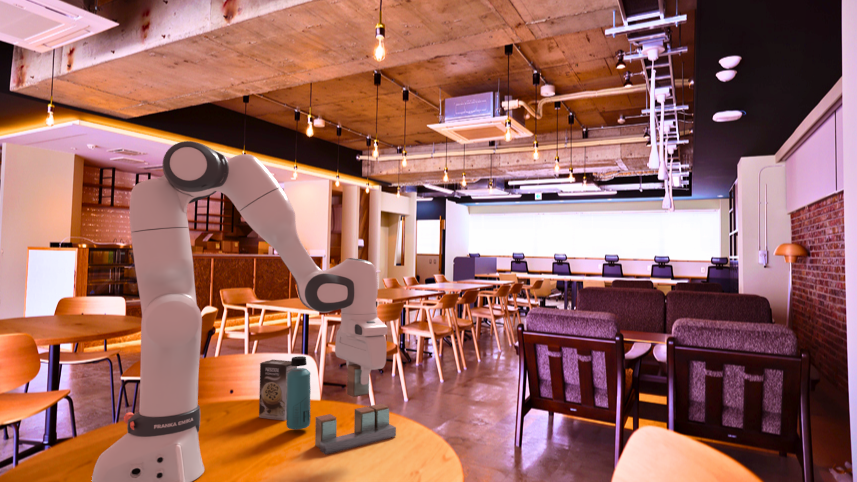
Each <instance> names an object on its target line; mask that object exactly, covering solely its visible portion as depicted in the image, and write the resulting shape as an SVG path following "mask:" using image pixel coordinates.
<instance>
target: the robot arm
mask: <svg viewBox="0 0 857 482" xmlns="http://www.w3.org/2000/svg"><path fill="white" fill-rule="evenodd" d="M161 167H162V172H163V175H162V176H160V177H157V178H150V179H146V180H143V181H140V182H138V183H137V184H135V185H134V186H133V187H132V189H131V192H130V199H129V227H130V230H129V231H130V237H131V244H132V252H133V253H132V254H133V262H134V270H135V275H136V281H137V288H138V295H139V302H140V308H141V322H140V323H141V325H140V327H141V328H140V329H141V331H140V377H139V378H140V379H139V380H140V382H139V383H140V384H139V411H137V413H133V412H131V411H130V412H126V413H125V415H124V416H123V422H124V423H125V424H126V425H127V433H126V434H124V435H122V437H121V438H119V439H118V440H117V441H115V442H114V443H113V444H112V445H110V447H108V448H107V449H106V450H104V451H103V452H102V453H101V454H100V455H99V457H98V459H96V462H95V465H94V468H93V470H92V471H93V473H92V476H91V477H92V480H91V481H92V482H193V481H195V480H197V479H199V477H201V476H202V475H203V474H204V472H205V465H204V463H203V459H202V455H201V449H200V448H201V447H200V441H199V431H200V428H201V408H200V407H201V406H200V405H199V404H198V403H199V402H198V401H199V399H198V396H199V370H200V369H199V368H200V359H201V358H200V356H201V344H202V343H201V341H202V327H203V326H202V325H203V318H202V317H203V316H202V312H201V309H200V308H199V306H198V304H197V303H198V302H197V295H196V285H195V273H194V271H195V270H194V259H193V251H192V244H191V236H190V228H189V220H188V205H189V204H193V203H194V202H198V201H200V200H203V199H206V198H208V197H210V196H213V195H215V194H216V193H222V194H223V195H225V196H226V197H227V198H228V199H229V200H230V201H231V203H232V204H233V205H234V206H235V208H236V210H237V211H238V212H239V214H240V215H241V217H242V218H243V219H244V221H245V222H246V223H247V225H248V226H249V227H250V228H251V229H252V230H253V231H254V232H255V233H256V234H257V235H258V236H260V238H261V239H262V240H264V241H265V242H266V243H267V244H268V245H269V246H270V247H272V249H274V250H275V252H276V253H277V254H278V256H279V258H280V259H281V260H282V262H283V263H284V265H285V266H286V268H287V269H288V270H289V272H290V273H291V275H292V277H293V278H294V280H295V284H296V290H297V295H298V298H299V300H300V302H301V303H302V305H304V306H305V307H306V308H308V309H309V310H312V311H315V312H318V313H330V312H334V311H339V310H340V311H341V312H340V317H341V318H340V325H339V329H337V332H336V336H335V344H334V345H335V347H334V352H335V356H336V358H339V359H341V360H345V363H346V368H347V369H348V365H353V364H357V365H360V366H361V370H362V372H361V376H359V383H360V384H362V385H365V384H368V376H369V377H370V374H371V372H372V371H374V370H381V369H383V368H384V367H385V365H386V363H387V347H388V345H387V339H386V335H388V329H389V328H388V326H387V325H386V324H385V322H383V321H382V320H381V319H380V318H379V317H378V307H377V298H378V293H379V291H378V288H379V287H378V286H379V285H378V283H379V282H378V271H377V267H376V265H375V264H374V263H372V262H371V261H369V260H365V259H360V258H355V257H348V258H346V259H345V260H343V261H342V262H340V263H339V264H336V265H335V266H333V267H331V268H328V269H325V270H323V269H321V268H320V267H319V266H318V265H317V264H316V263H315V261H314V259H313V258H312V256H311V255H310V253H309V252H308V251H307V249H306V247H305V246H304V244H303V242H302V241H301V239H300V237H299V234H298V231H297V223H296V212H295V210H294V207H293V205H292V203H291V201H290V199H289V197H288V195H287V193H286V192H285V190H284V189H283V188H282V186H281V184H280V183H279V182H278V180H277V179H276V177H275V176H274V175H273V173H271V171H270V170H269V169H268V168H267V167H266V166H265V165H264V164H263V163H262V161H260V160H259V159H258V157H256V156H254V155H252V154H249V153H248V154H247V153H245V154H242V153H241V154H239V155H235V156H233V157H231V158H228V159H227V157H226V156H225V155H224V154H222V153H220V152H218V151H217V150H214V149H213V148H211V147H209V146H207V145H205V144H203V143H200V142H197V141H191V140H190V141H189V140H185V141H181V142H177V143H175V144H173V145H172V146H170V147H169V148H168V149H167V150H166V152H165V153H164V155H163V159H162V166H161Z"/></svg>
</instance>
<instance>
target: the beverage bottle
mask: <svg viewBox="0 0 857 482" xmlns="http://www.w3.org/2000/svg"><path fill="white" fill-rule="evenodd" d="M290 361H291V366H297V368H296V369H292V370H291V371H289V372H288V374H287V406H286V407H287V408H286V410H287V415H286V416H287V419H286V420H285V423H286V428H287V429H289V430H290V429H291V430H302V429H307V428H308V427H309V426H310V425H311V422H312V421H311V416H312V415H311V414H312V413H311V408H312V407H311V402H312V401H311V371H309V370H308V369H307V368H304V366H307V357H306V356H301V355H299V356H294V357H291V360H290Z"/></svg>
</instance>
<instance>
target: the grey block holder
mask: <svg viewBox="0 0 857 482" xmlns="http://www.w3.org/2000/svg"><path fill="white" fill-rule="evenodd" d="M353 425H354V426H353V427H354V428H353V429H354V432H352V433H348V434H344V435H339V436H337V417H336V416H334V415H333V414H331V413H329V414H325V415H324V414H323V415H320V416H315V428H314V429H315V431H314V432H315V435H314V436H315V438H314V439H315V441H314V442H315V445H314V446H315V447H317V448H318V449H319V452H320V453H322V454H324V455H325V456H326V455H330V454H334V453H338V452H341V451H346V450H350V449H353V448H357V447H360V446H361V447H362V446H365V445H368V444H369V445H370V444H373V443H376V442H380V441H384V440H389V439H392V438H395V437H394V436H397V427H396V426H394V425H392V424H390V407H389V405H386V404H384V403H377V404H372V405H368V406H362V407H359V408H355V409H354V424H353ZM391 437H392V438H391Z"/></svg>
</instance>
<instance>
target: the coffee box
mask: <svg viewBox="0 0 857 482" xmlns="http://www.w3.org/2000/svg"><path fill="white" fill-rule="evenodd" d="M259 365H260V366H259V367H260V368H259V395H258V396H259V402H258V403H259V404H258V410H259V411H258V418H261V419H269V420H276V421H287V420H286V419H287V416H286V415H287V410H286V408H287V407H286V406H287V374H288V372H289V371H291V370H292V369H296V368H298V366H291V360H281V359H270V360H265V361H263V362H262V361H261V362H260V363H259Z"/></svg>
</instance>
